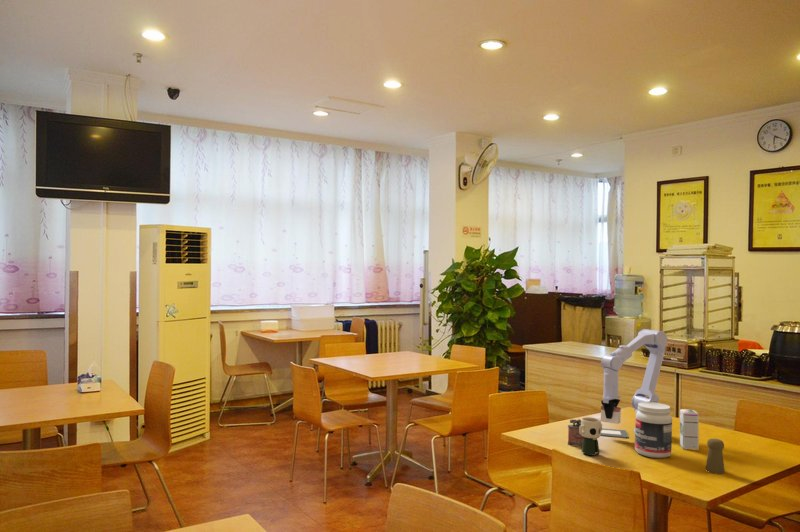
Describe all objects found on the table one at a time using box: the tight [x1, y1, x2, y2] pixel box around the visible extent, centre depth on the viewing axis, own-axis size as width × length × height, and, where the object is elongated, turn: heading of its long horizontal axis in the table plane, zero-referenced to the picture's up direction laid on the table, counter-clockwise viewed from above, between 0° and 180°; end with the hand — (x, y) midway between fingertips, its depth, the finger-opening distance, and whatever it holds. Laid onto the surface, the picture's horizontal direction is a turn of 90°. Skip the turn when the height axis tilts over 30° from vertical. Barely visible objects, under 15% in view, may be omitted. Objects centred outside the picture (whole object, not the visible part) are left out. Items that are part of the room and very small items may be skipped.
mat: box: [600, 427, 629, 439], centre depth 253 cm, size 15×11×1 cm
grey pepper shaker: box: [705, 438, 726, 475], centre depth 207 cm, size 6×6×11 cm
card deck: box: [600, 405, 622, 425], centre depth 246 cm, size 3×7×6 cm, turn 55°
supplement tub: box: [634, 402, 673, 459], centre depth 225 cm, size 13×13×18 cm
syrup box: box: [679, 408, 700, 451], centre depth 234 cm, size 6×6×14 cm
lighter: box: [567, 418, 584, 447], centre depth 235 cm, size 8×3×10 cm, turn 84°
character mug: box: [579, 416, 603, 456], centre depth 223 cm, size 11×7×13 cm, turn 116°
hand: (610, 417), depth 246 cm, fingers closed on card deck, 3 cm apart
